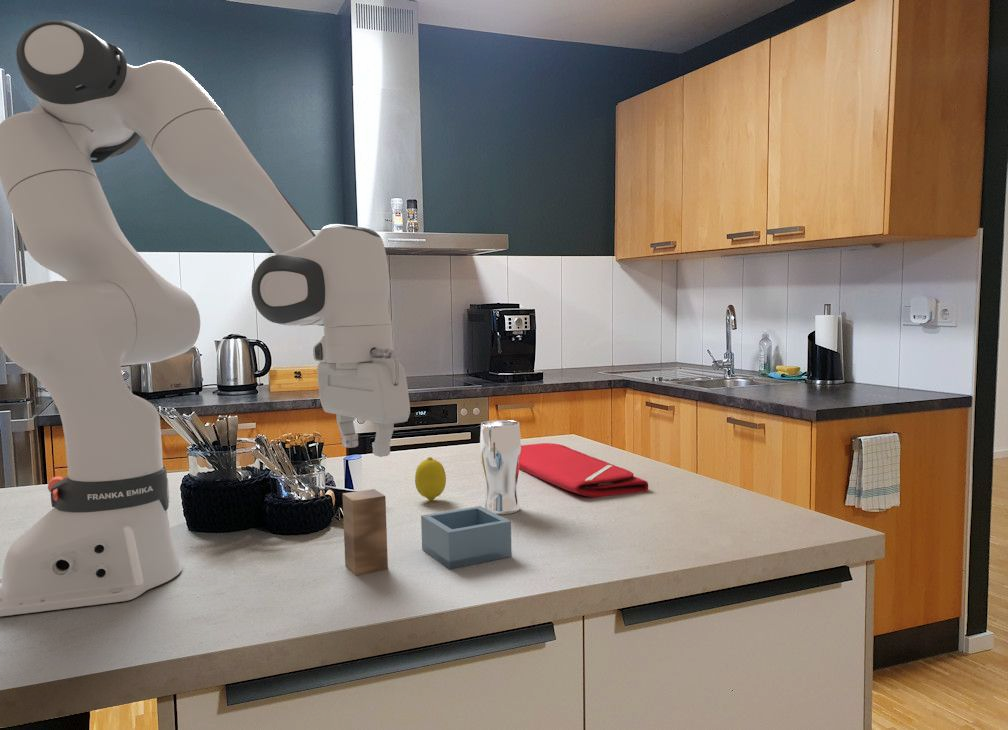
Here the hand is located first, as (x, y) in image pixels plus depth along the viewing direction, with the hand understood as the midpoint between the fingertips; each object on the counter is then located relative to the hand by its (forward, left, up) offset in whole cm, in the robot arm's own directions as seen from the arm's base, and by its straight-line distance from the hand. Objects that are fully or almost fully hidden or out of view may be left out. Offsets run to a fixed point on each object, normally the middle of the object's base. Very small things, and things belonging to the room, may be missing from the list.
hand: (365, 451), depth 101 cm
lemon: (+21, +27, -16) cm, 38 cm away
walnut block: (0, 0, -16) cm, 16 cm away
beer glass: (+29, +15, -16) cm, 36 cm away
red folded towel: (+53, +33, -17) cm, 65 cm away
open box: (+14, -2, -16) cm, 21 cm away
